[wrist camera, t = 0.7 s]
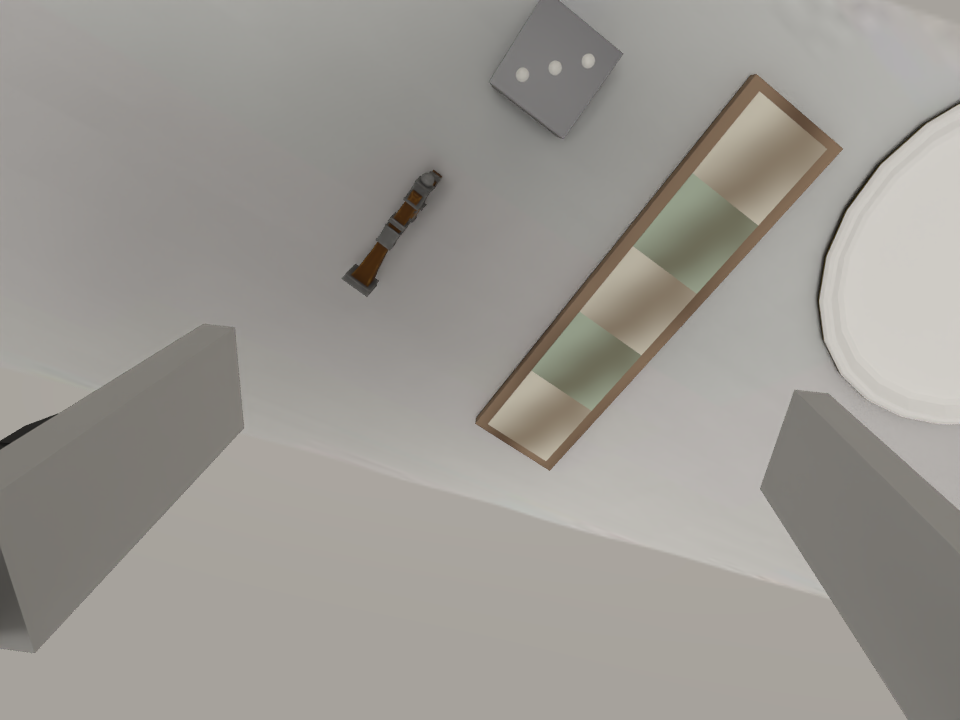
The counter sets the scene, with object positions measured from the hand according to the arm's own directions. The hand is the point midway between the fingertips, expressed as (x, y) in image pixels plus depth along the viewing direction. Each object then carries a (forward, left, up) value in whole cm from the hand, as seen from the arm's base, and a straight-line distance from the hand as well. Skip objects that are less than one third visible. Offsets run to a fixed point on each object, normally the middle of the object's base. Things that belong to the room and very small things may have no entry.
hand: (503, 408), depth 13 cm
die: (-3, +8, -23) cm, 24 cm away
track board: (+9, +1, -22) cm, 24 cm away
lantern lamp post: (-6, -7, -21) cm, 23 cm away
